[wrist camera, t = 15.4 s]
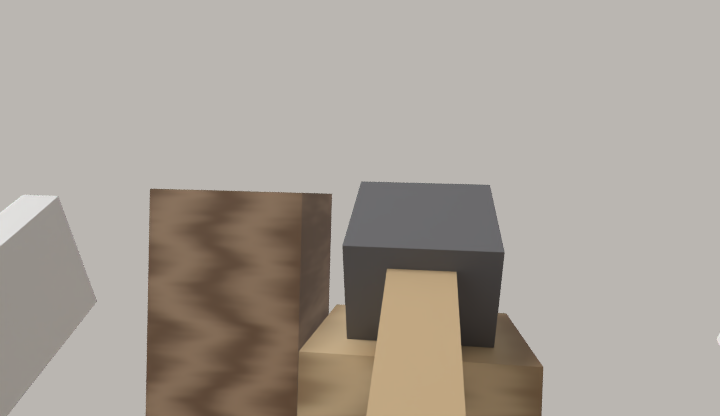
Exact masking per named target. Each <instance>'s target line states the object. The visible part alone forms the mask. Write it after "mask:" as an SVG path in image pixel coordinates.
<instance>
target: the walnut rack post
mask: <svg viewBox="0 0 720 416" xmlns="http://www.w3.org/2000/svg"><path fill="white" fill-rule="evenodd" d="M331 206H332V194H318V193H284V192H283V193H282V192H281V193H280V192H250V191H215V190H214V191H213V190H175V189H150V221H149V226H150V227H149V273H148V325H147V379H146V383H147V384H146V416H297V398H298V360H299V351H300V349H301V348H302V347H303V346H304V344H305V343H306V342H307V341H308V339H309V338H310V337H311V336H312V335H313V333H314V332H315V331H316V330H317V328H318V327H319V326H320V325H321V323H322V322H323V321H324V320H325V318H326V317H327V316H328V315H329V279H330V242H331Z"/></svg>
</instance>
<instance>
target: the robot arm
mask: <svg viewBox="0 0 720 416" xmlns="http://www.w3.org/2000/svg"><path fill="white" fill-rule="evenodd" d="M96 302H97V300H96V297H95V295H94V292H93V289H92V287H91V284H90V281H89V278H88V276H87V274H86V270H85V268H84V265H83V262H82V260H81V257H80V254H79V251H78V249H77V246H76V243H75V241H74V238H73V235H72V232H71V230H70V227H69V224H68V222H67V219H66V216H65V214H64V211H63V208H62V205H61V202H60V200H59V197H58V196H39V195H22V196H21V197H20V198H18V199H17V200H16V201H14V202H13V203H12V204H11V205H9V206H8V207H7V208H5V209H4V210H3V211H2V212H1V213H0V416H7V415H8V414H9V413H10V411H11V410H12V409H13V408H14V406H15V405H16V404H17V403H18V401H19V400H20V399H21V397H22V396H23V395H24V394H25V392H26V391H27V390H28V389H29V387H30V386H31V385H32V383H33V382H34V381H35V380H36V378H37V377H38V376H39V374H40V373H41V372H42V371H43V369H44V368H45V367H46V366H47V364H48V363H49V362H50V361H51V359H52V358H53V357H54V355H55V354H56V353H57V352H58V350H59V349H60V348H61V347H62V345H63V344H64V343H65V341H66V340H67V339H68V338H69V336H70V335H71V334H72V333H73V331H74V330H75V329H76V327H77V326H78V325H79V324H80V322H81V321H82V320H83V318H84V317H85V316H86V315H87V313H88V312H89V310H91V308H92V307H93V306H94V305H95V303H96ZM717 342H718V343H719V345H720V333H719V335H718V338H717Z"/></svg>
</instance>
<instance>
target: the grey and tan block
mask: <svg viewBox="0 0 720 416" xmlns="http://www.w3.org/2000/svg"><path fill="white" fill-rule="evenodd" d="M503 261H504V248H503V243H502V239H501V234H500V230H499V225H498V221H497V216H496V211H495V207H494V203H493V198H492V193H491V189H490V185H469V184H468V185H467V184H432V183H431V184H430V183H391V182H361V185H360V188H359V191H358V195H357V199H356V202H355V205H354V209H353V212H352V215H351V219H350V222H349V226H348V229H347V232H346V236H345V239H344V243H343V265H344V287H345V309H346V330H347V339H357V340H373V341H377V344H376V351H375V358H374V365H373V372H372V379H371V386H370V393H369V400H368V407H367V415H366V416H466V411H465V396H464V380H463V365H462V350H461V346H472V347H488V348H494V344H495V335H496V325H497V316H498V307H499V297H500V289H501V280H502V271H503V270H502V269H503Z"/></svg>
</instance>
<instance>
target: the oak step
mask: <svg viewBox="0 0 720 416" xmlns="http://www.w3.org/2000/svg"><path fill="white" fill-rule="evenodd" d="M376 344H377V341H373V340H357V339H347V330H346V309H345V305H336V306H335V307H334V309H333V310H332V311H331V313H330V314H329V315H328V316H327V317H326V318H325V320H324V321H323V322H322V323H321V325H320V326H319V327H318V328H317V330H316V331H315V332H314V333H313V335H312V336H311V337H310V338H309V339H308V341H307V342H306V343H305V344H304V346H303V347H302V348H301V349H300V351H299V360H298V398H297V416H366V415H367V407H368V400H369V393H370V386H371V379H372V372H373V365H374V358H375V351H376ZM461 350H462V365H463V380H464V396H465V411H466V416H541V411H542V386H543V385H542V383H543V366H542V365H541V363H540V362H539V360H538V359H537V358H536V356H535V355H534V353H533V352H532V350H531V349H530V347H529V346H528V344H527V343H526V342H525V340H524V339H523V337H522V336H521V334H520V333H519V331H518V330H517V329H516V327H515V326H514V324H513V323H512V321H511V320H510V318H509V317H508V315H507V314H505V313H498V316H497V325H496V335H495V344H494V348H488V347H472V346H461Z"/></svg>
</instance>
